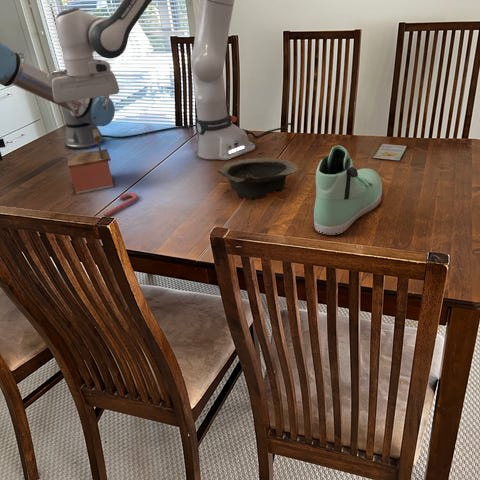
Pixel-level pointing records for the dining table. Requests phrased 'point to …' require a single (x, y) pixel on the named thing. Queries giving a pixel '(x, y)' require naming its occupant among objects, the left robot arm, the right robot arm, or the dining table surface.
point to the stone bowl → (257, 176)
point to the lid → (89, 155)
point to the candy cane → (122, 203)
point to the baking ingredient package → (390, 152)
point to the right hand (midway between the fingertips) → (91, 111)
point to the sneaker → (343, 192)
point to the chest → (91, 177)
